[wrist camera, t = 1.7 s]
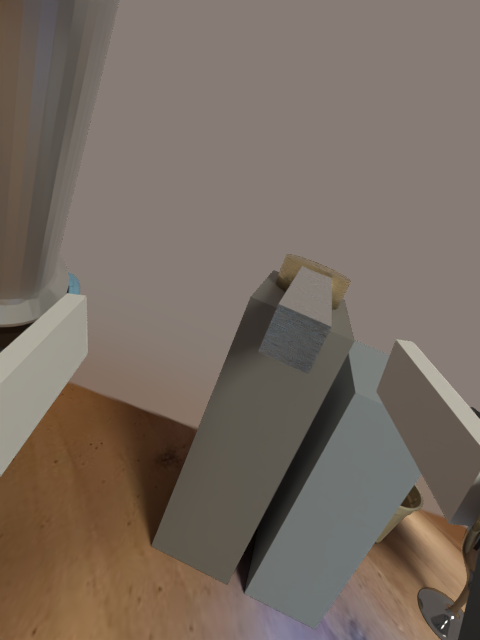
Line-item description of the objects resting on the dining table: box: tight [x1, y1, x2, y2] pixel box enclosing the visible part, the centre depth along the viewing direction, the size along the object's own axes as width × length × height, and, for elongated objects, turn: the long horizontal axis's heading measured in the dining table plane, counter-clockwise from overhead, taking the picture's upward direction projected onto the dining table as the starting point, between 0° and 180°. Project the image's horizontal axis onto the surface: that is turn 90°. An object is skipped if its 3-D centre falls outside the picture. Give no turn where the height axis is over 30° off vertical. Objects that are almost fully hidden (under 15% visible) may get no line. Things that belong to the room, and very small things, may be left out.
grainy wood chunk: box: [258, 254, 351, 374], centre depth 31 cm, size 7×23×3 cm, turn 166°
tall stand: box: [151, 271, 354, 584], centre depth 42 cm, size 9×15×30 cm, turn 167°
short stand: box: [244, 340, 421, 629], centre depth 42 cm, size 8×15×26 cm, turn 167°
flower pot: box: [375, 484, 423, 543], centre depth 53 cm, size 9×9×9 cm
